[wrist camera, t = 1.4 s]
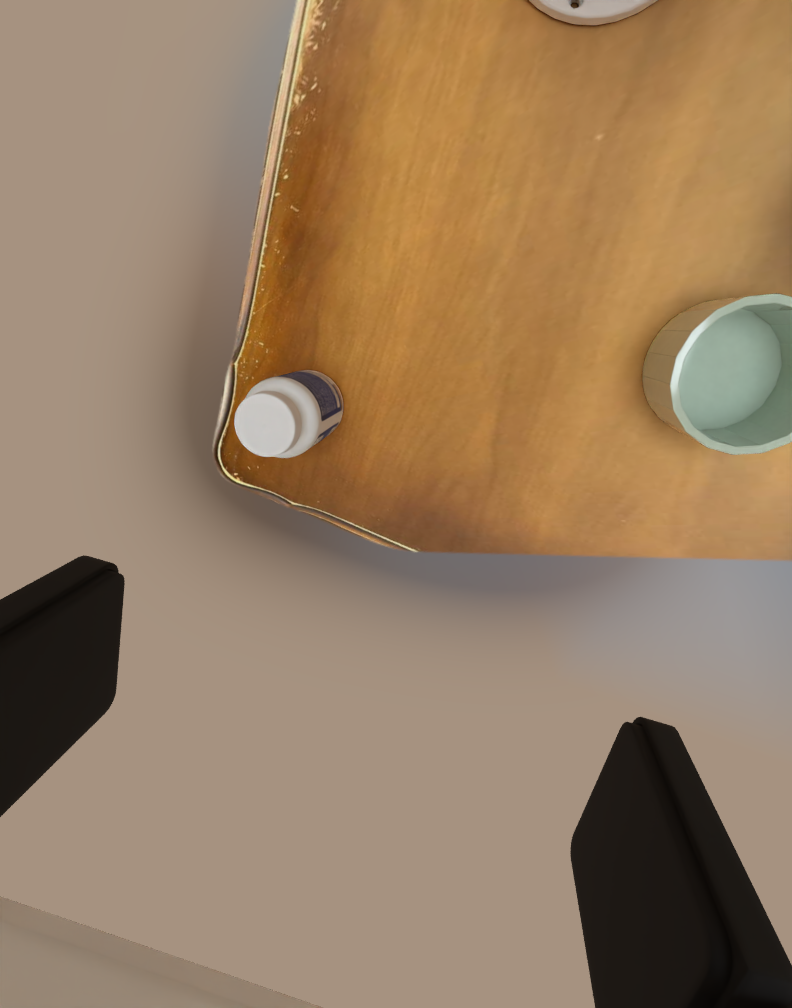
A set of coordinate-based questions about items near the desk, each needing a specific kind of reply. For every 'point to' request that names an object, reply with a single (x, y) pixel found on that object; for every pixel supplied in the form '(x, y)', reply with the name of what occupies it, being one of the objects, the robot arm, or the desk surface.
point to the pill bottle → (288, 414)
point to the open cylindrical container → (725, 373)
